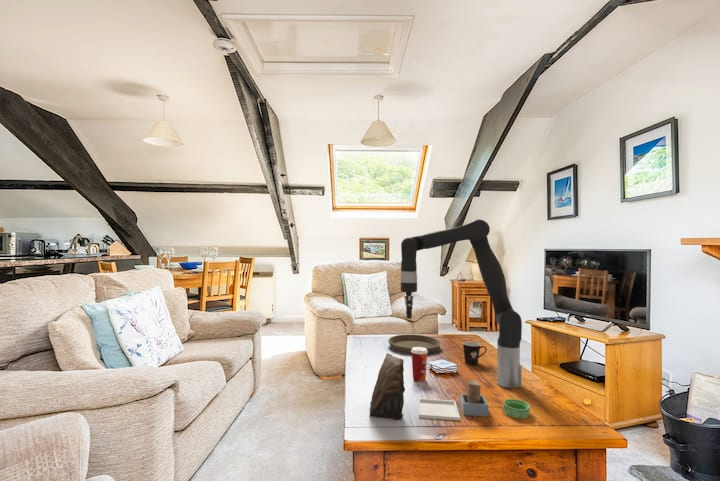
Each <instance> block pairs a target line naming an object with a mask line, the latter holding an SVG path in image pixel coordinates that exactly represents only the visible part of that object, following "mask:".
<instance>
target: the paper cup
mask: <svg viewBox="0 0 720 481" xmlns="http://www.w3.org/2000/svg"><path fill="white" fill-rule="evenodd" d="M411 352H412V354H411V363H412V365H411V366H412V368H411V369H412V380H413V381H415V382H418V383H421V382H425V381H426V378H427V360H428V354H429V353H428V351H427V349H426V348H423V347H413V348H412V350H411Z"/></svg>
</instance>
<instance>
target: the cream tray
mask: <svg viewBox="0 0 720 481" xmlns="http://www.w3.org/2000/svg"><path fill="white" fill-rule="evenodd" d="M417 408H418V419H420V418H421V419H431V420H447V421H461V415H460V412H459V408H458V406H457V403H456V400H450V399H439V398H438V399H435V398H421V397H419V398H417Z"/></svg>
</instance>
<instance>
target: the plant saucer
mask: <svg viewBox="0 0 720 481" xmlns="http://www.w3.org/2000/svg"><path fill="white" fill-rule="evenodd" d="M388 344H389V345H390V346H391V348H392V349H393V350H395V351H396V352H399V353H404V354H409V355H412V352H411V350H412V348H413V347H423V348H426V349H427V351H428V353H427V354H431V353H434V352H436V351H437V349H439V347H440V345H441V341H440V340H438V339H437V338H435V337H431V336H428V335H423V334H398V335H394V336H391V337H389V338H388Z"/></svg>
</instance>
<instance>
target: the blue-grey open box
mask: <svg viewBox="0 0 720 481" xmlns="http://www.w3.org/2000/svg"><path fill="white" fill-rule="evenodd" d="M459 395H460V396H459V406H460V408H461V409H460V410H461V412H462V415H463V416H476V417H489V404H488V402H487V400H486V398H485V396H484V395H483V394H480V403H467V393H460V394H459Z"/></svg>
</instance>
